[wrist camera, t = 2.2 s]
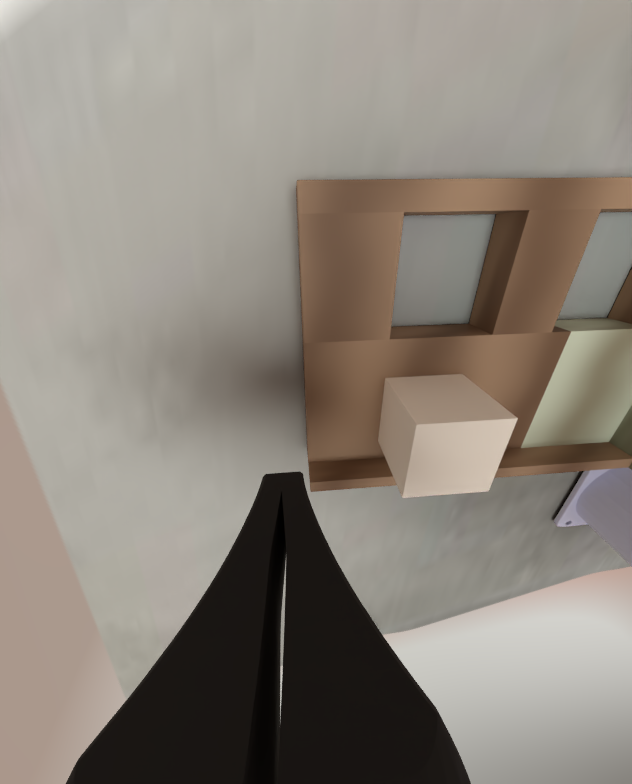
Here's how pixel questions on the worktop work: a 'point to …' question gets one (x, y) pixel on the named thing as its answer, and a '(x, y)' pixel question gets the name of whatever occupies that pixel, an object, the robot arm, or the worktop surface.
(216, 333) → the worktop surface
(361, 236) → the trap deck
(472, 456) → the cream block
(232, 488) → the worktop surface
